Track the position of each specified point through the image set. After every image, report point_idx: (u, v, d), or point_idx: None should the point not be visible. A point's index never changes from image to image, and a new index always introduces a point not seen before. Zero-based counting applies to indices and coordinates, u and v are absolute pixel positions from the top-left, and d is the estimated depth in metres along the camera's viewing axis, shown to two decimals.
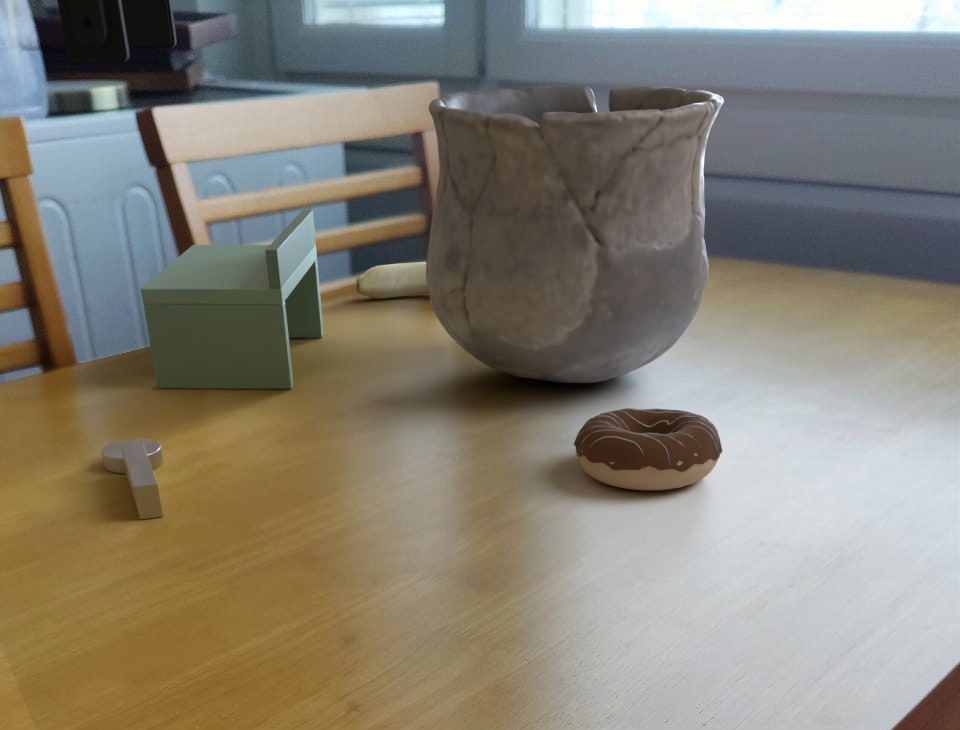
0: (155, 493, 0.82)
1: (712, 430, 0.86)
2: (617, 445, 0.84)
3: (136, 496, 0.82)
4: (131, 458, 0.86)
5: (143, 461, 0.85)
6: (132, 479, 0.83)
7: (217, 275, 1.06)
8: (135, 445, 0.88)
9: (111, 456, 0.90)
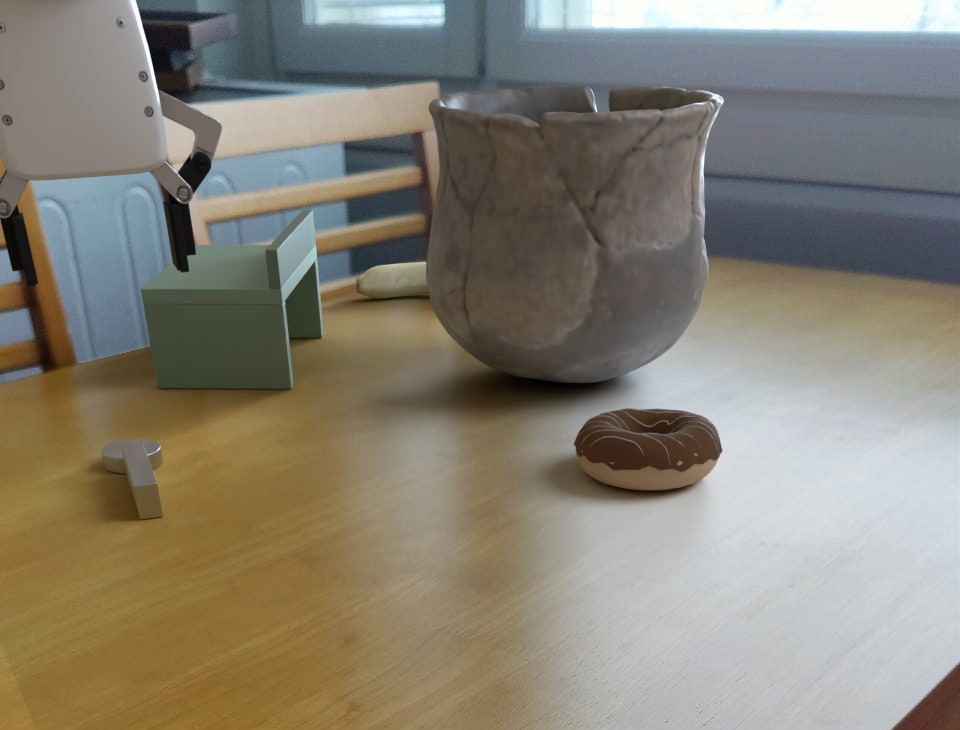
0: (155, 493, 0.82)
1: (712, 430, 0.86)
2: (617, 445, 0.84)
3: (136, 496, 0.82)
4: (131, 458, 0.86)
5: (143, 461, 0.85)
6: (132, 479, 0.83)
7: (217, 275, 1.06)
8: (135, 445, 0.88)
9: (111, 456, 0.90)
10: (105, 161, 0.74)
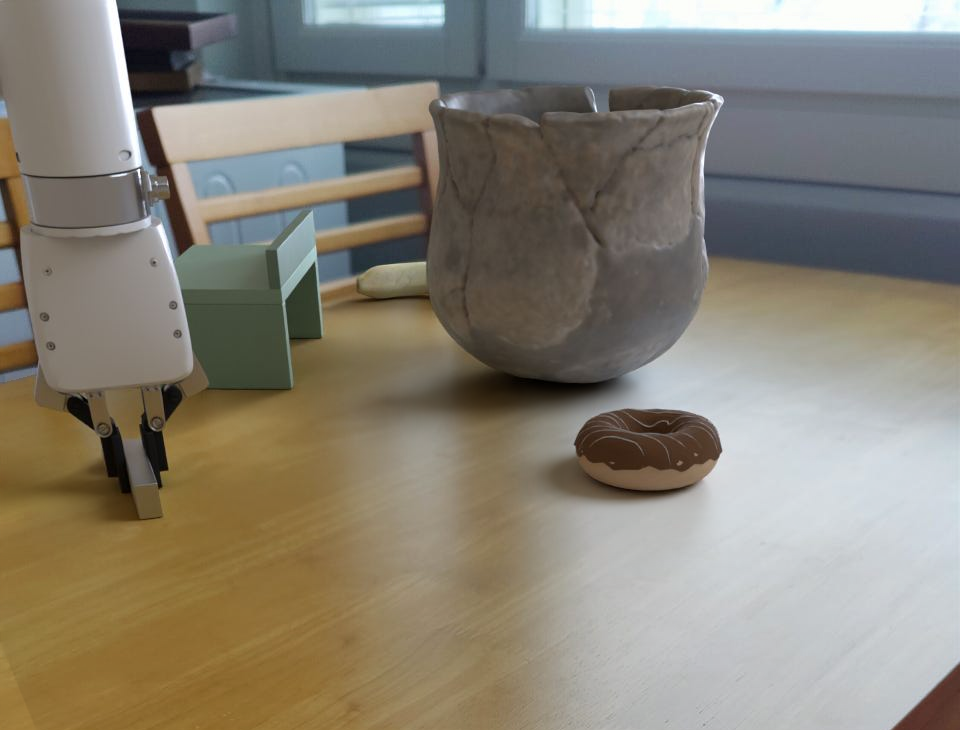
0: (155, 493, 0.82)
1: (712, 430, 0.86)
2: (617, 445, 0.84)
3: (136, 496, 0.82)
4: (131, 457, 0.86)
5: (143, 461, 0.85)
6: (132, 479, 0.83)
7: (217, 275, 1.06)
8: (135, 445, 0.88)
9: None
10: (137, 376, 0.82)
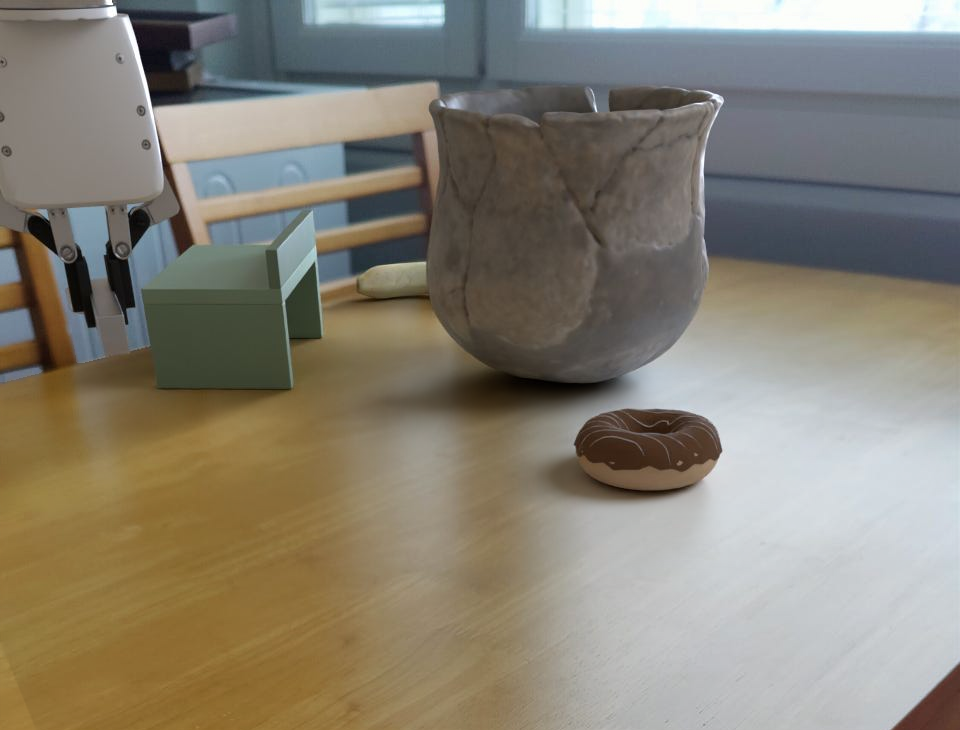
0: (122, 327, 0.76)
1: (712, 430, 0.86)
2: (617, 445, 0.84)
3: (101, 329, 0.76)
4: (97, 292, 0.79)
5: (108, 295, 0.79)
6: (96, 311, 0.76)
7: (217, 275, 1.06)
8: (100, 281, 0.81)
9: None
10: (102, 192, 0.76)
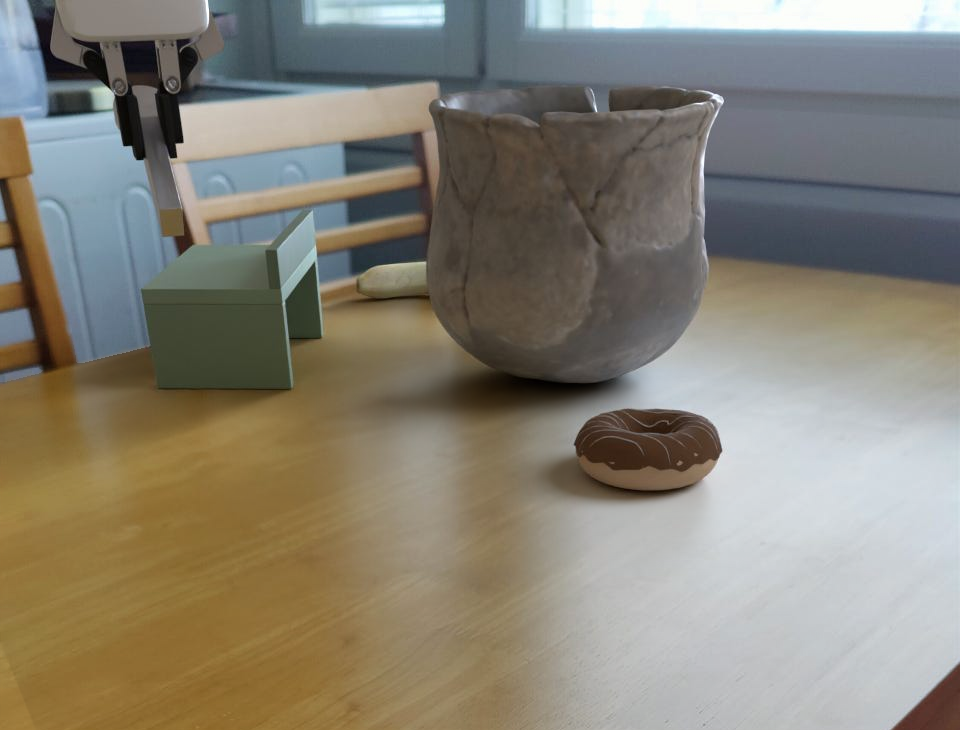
0: (179, 216, 0.86)
1: (712, 430, 0.86)
2: (617, 445, 0.84)
3: (161, 218, 0.86)
4: (151, 150, 0.87)
5: (164, 160, 0.87)
6: (157, 195, 0.86)
7: (217, 275, 1.06)
8: (152, 123, 0.88)
9: None
10: (153, 25, 0.83)
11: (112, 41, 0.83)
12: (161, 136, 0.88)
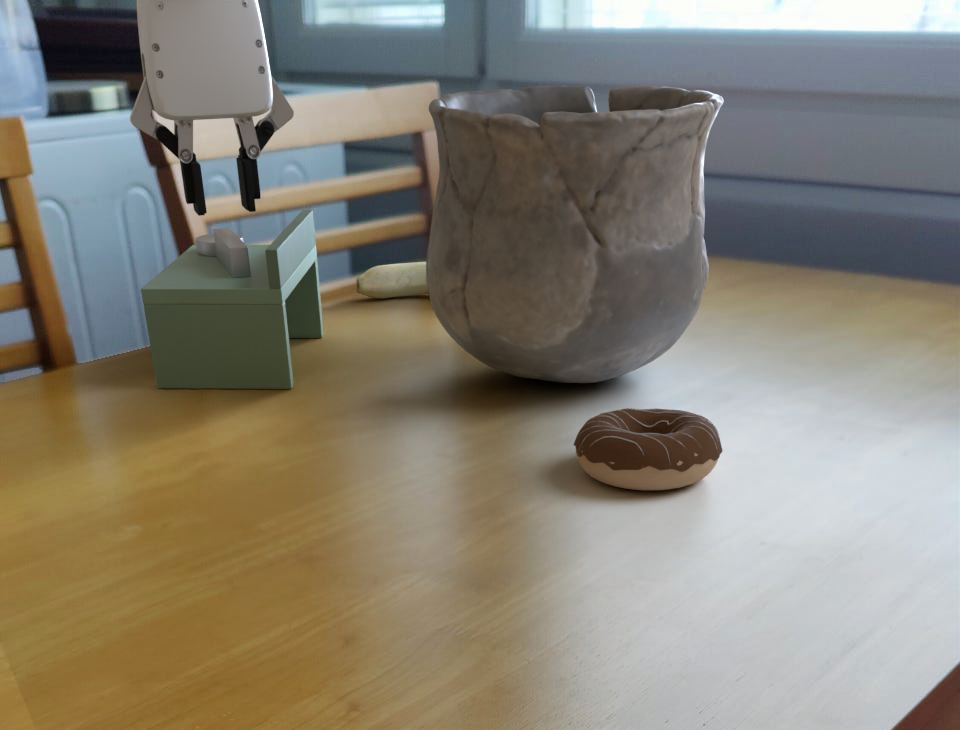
0: (246, 255, 1.04)
1: (712, 430, 0.86)
2: (617, 445, 0.84)
3: (231, 257, 1.04)
4: (224, 235, 1.08)
5: (233, 237, 1.07)
6: (227, 245, 1.04)
7: (217, 275, 1.06)
8: (224, 229, 1.10)
9: (204, 241, 1.11)
10: (228, 106, 1.00)
11: (187, 119, 1.00)
12: (231, 231, 1.09)
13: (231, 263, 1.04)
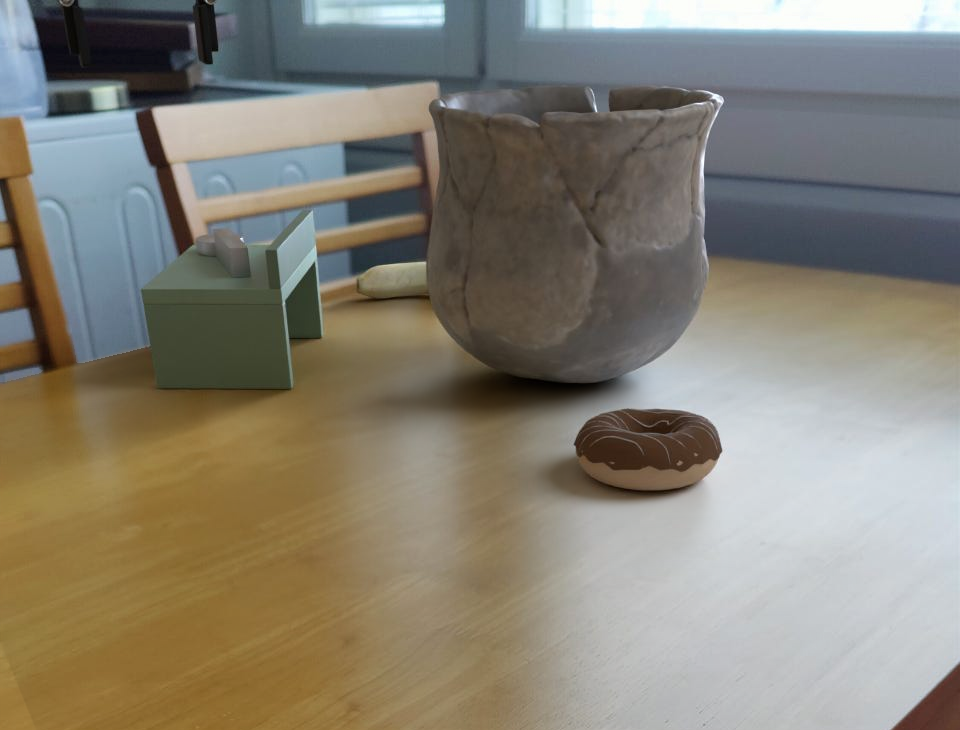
0: (246, 255, 1.04)
1: (712, 430, 0.86)
2: (617, 445, 0.84)
3: (231, 257, 1.04)
4: (224, 235, 1.08)
5: (233, 237, 1.07)
6: (227, 245, 1.04)
7: (217, 275, 1.06)
8: (224, 229, 1.10)
9: (204, 241, 1.11)
10: None
11: None
12: (231, 231, 1.09)
13: (231, 263, 1.04)
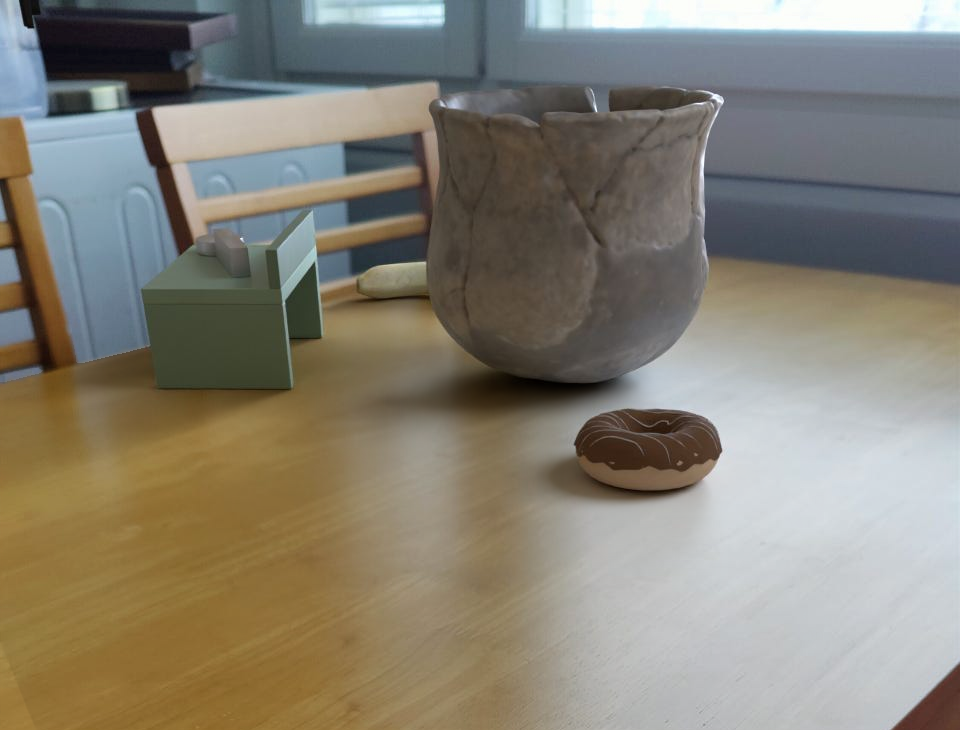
0: (246, 255, 1.04)
1: (712, 430, 0.86)
2: (617, 445, 0.84)
3: (231, 257, 1.04)
4: (224, 235, 1.08)
5: (233, 237, 1.07)
6: (227, 245, 1.04)
7: (217, 275, 1.06)
8: (224, 229, 1.10)
9: (204, 241, 1.11)
10: None
11: None
12: (231, 231, 1.09)
13: (231, 263, 1.04)
